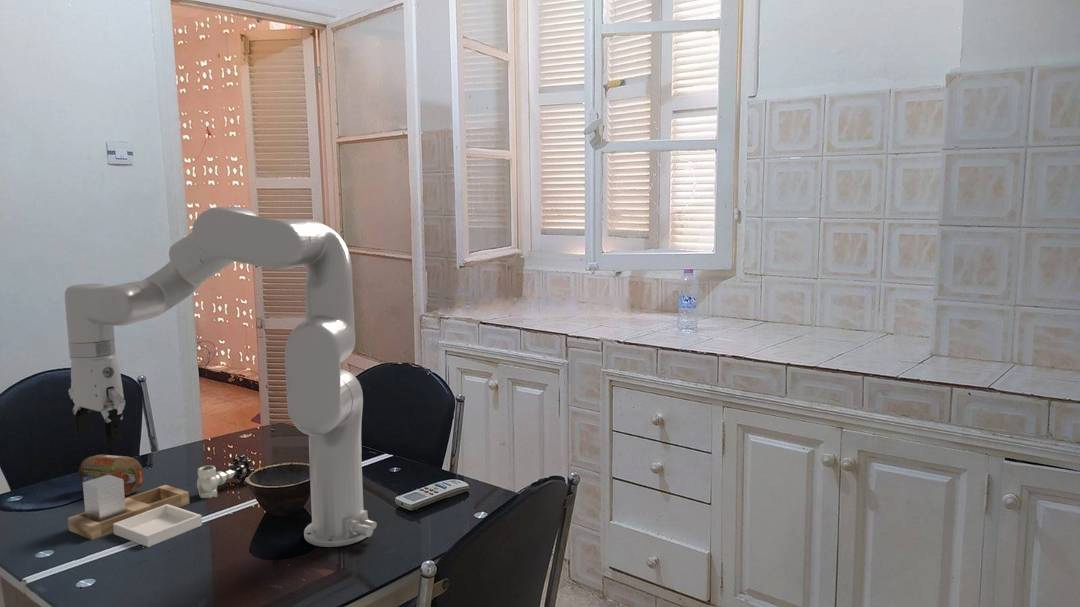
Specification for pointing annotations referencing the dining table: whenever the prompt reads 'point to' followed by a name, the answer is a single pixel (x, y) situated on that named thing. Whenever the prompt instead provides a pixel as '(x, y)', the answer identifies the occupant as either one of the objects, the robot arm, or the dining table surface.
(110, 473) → the tin
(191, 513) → the dish
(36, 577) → the dining table surface
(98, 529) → the wooden compartment tray
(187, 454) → the dining table surface
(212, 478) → the valve
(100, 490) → the gray rectangular block
